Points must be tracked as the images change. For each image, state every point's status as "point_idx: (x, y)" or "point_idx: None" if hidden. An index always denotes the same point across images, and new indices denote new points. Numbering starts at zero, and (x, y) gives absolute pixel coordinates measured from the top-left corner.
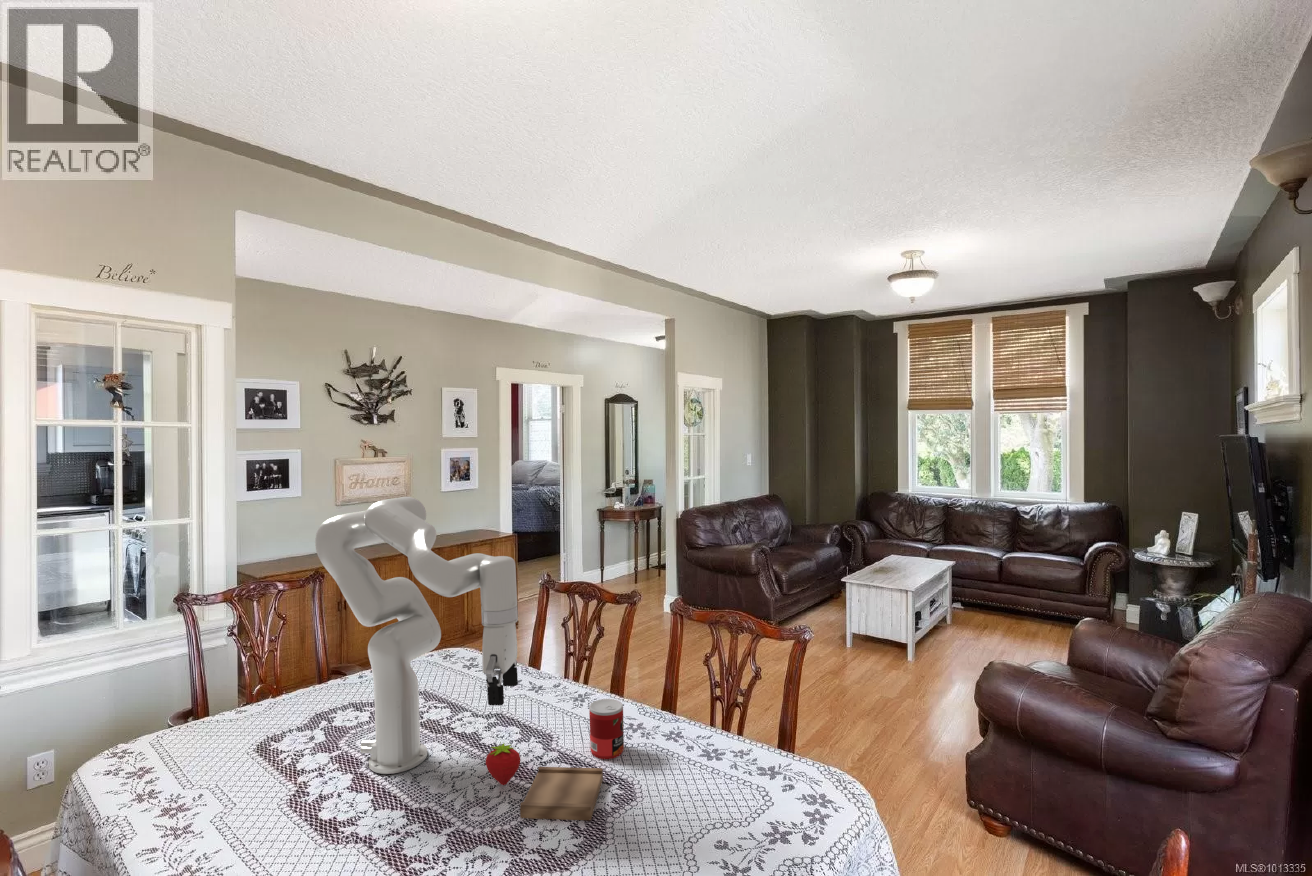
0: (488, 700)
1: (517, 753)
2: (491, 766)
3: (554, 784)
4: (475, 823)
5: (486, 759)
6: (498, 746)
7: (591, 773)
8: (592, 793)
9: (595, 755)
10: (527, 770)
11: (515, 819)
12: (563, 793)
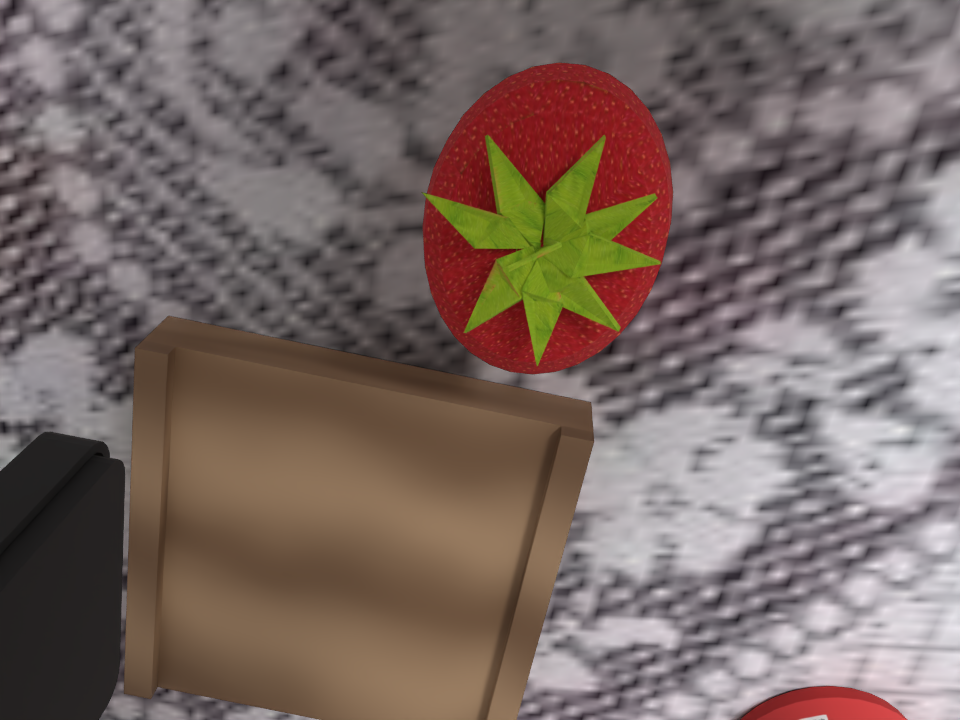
0: (6, 480)
1: (534, 366)
2: (450, 137)
3: (392, 522)
4: (113, 37)
5: (521, 85)
6: (617, 207)
7: (487, 706)
8: (280, 698)
9: (763, 711)
10: (718, 321)
11: (159, 288)
12: (288, 568)
